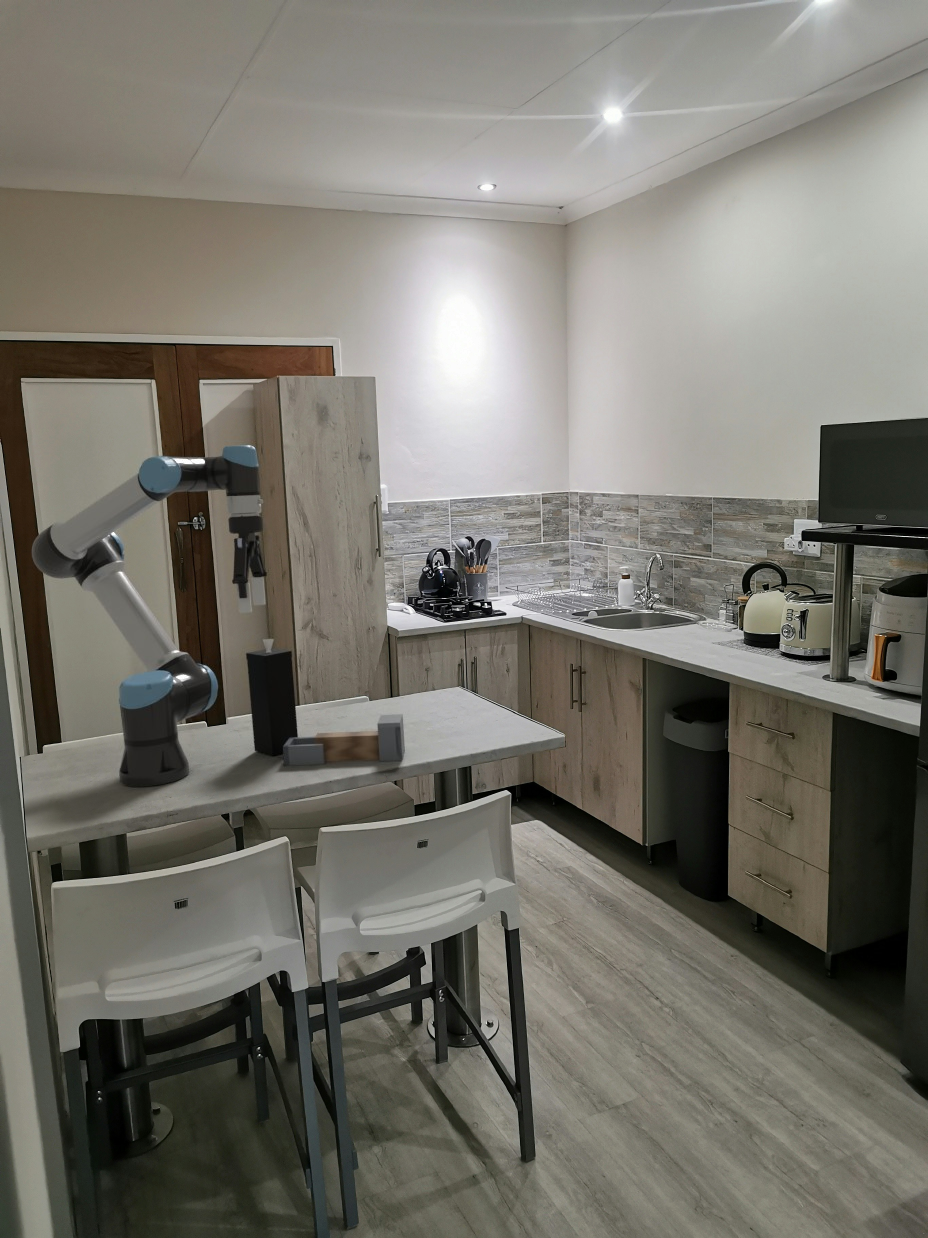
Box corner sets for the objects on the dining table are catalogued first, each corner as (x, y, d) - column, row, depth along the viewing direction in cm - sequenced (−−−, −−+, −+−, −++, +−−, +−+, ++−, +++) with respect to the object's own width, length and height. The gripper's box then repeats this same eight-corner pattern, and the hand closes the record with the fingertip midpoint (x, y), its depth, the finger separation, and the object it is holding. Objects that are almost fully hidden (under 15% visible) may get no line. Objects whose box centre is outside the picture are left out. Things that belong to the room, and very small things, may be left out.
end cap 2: (379, 761, 213) (377, 723, 212) (383, 751, 221) (380, 715, 220) (402, 760, 213) (399, 722, 212) (404, 750, 221) (402, 714, 219)
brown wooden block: (316, 762, 215) (314, 737, 215) (319, 757, 219) (317, 733, 219) (392, 759, 215) (391, 734, 214) (394, 754, 219) (393, 730, 218)
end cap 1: (284, 765, 213) (282, 747, 213) (291, 755, 221) (289, 737, 221) (323, 764, 213) (322, 745, 213) (329, 754, 221) (327, 735, 220)
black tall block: (299, 749, 227) (290, 637, 223) (272, 757, 221) (263, 642, 217) (280, 744, 232) (271, 634, 228) (254, 752, 226) (244, 639, 222)
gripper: (248, 516, 195) (256, 615, 198) (273, 512, 220) (280, 601, 223) (213, 517, 195) (221, 617, 198) (242, 514, 220) (249, 602, 223)
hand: (252, 608), depth 210 cm, fingers open, 13 cm apart
